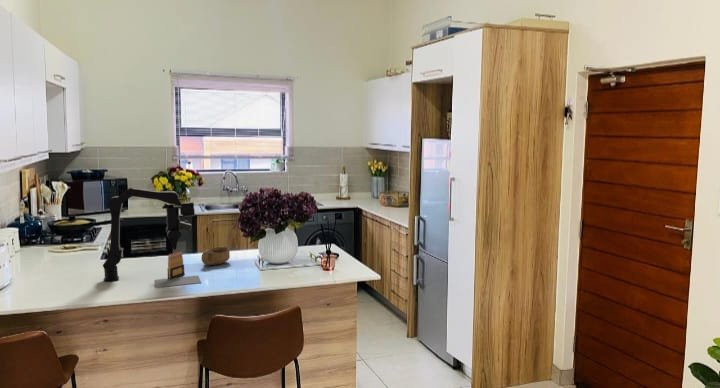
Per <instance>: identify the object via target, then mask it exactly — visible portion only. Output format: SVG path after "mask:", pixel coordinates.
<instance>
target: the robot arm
mask: <svg viewBox="0 0 720 388" xmlns="http://www.w3.org/2000/svg"><path fill="white" fill-rule="evenodd" d="M132 197H133V198H134V197H135V198H144V199H151V200H157V201H161V202H163V203H164V205H163V206H162V207H161V208H162V209H163V210H164V209H165V210H166V212H165V213H166V227H165V232H166V236H167V238H168V240H169V243H170V245H171V247H172V249H173V250H177V247H178V241H179V239H180V238H181V237H182V236H183V235H182V234H183V233H182V231H181V230H184V231H187V232H190V231H191V229H192V224H191V223H189V220H186V219H185V220H184V221H181V219H180V215H181V216H182V217H195V215H196V214H195V206H194V202H193V201H191V202H183V201H182V200H180V198H179V195H178V193H177V192H176V191H173V190H166V191H163V190H162V191H156V190H149V189H142V188H134V187H129V188H127V189H126V191H124V192H123V193H121V194H120V195H115V196H112V197H111V198H110V199H109V201H108V208H109V213H110V247H109V250H108V254H107V258H106V260H105V261H104V262H103V264H102V268H103V269H104V270H103V272H104V278H103V282H112V281H113V282H115V281H119V280H120V276H119V275H118V273H119V272H118V271H119V270H118V264H119V263H120V262H121V260H122V259H123V258H124V253H123V252H124V247H121V244H120V240H121V239H120V238H121V237H120V233H121V232H120V231H121V229H120V228H121V214H122V210H123V206H124V205H123V204H124V203H125V202H126V201H128V200H129V199H131V198H132Z"/></svg>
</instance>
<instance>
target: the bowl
mask: <svg viewBox="0 0 720 388" xmlns="http://www.w3.org/2000/svg"><path fill="white" fill-rule="evenodd" d="M230 249H231V248H230V247H228V246H217V247H212V248H208V249H206V250H204V251H203V252H202V255H201V262H202V264H204V266H205V265H206V266H216V265H222V264H224V263H225V262H226V263H227V261H229V260H230V258H231V256H230V255H231V253H230Z"/></svg>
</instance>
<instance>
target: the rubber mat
mask: <svg viewBox="0 0 720 388" xmlns="http://www.w3.org/2000/svg"><path fill="white" fill-rule="evenodd" d="M196 284H202V281H201V278H200V276H199V275H191V276H190V275H189V276H182V277H181V276H179V277H176V278H173V279H168V278H160V279H154V286H155V288H156V289H157V288H169V287H175V286H176V287H177V286H178V287H179V286H185V285H186V286H187V285H196Z"/></svg>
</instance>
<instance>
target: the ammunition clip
mask: <svg viewBox="0 0 720 388" xmlns="http://www.w3.org/2000/svg"><path fill="white" fill-rule="evenodd" d="M167 257H168V258H167V261H168V262H167V265H168V266H167V279H173V278H178V277H181V276H182V277H183V276H184V275H186V274H185V264H184V258H183V252H182V251H181V250H180V251H176V252H173V253H168V256H167Z"/></svg>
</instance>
